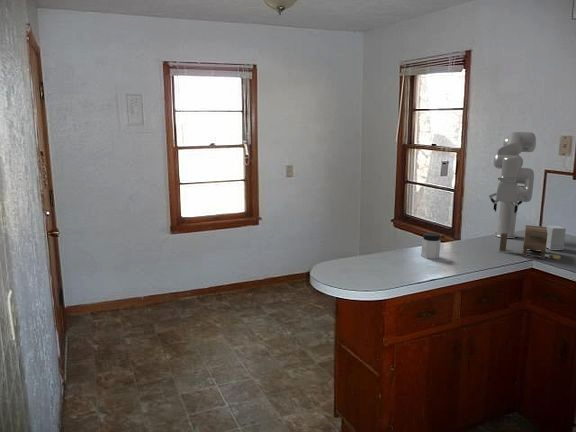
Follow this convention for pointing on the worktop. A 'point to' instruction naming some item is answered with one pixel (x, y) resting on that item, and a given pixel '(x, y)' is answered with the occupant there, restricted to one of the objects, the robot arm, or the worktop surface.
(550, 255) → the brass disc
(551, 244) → the supplement box
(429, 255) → the jar
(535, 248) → the cabinet
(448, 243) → the worktop surface
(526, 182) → the robot arm
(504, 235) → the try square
